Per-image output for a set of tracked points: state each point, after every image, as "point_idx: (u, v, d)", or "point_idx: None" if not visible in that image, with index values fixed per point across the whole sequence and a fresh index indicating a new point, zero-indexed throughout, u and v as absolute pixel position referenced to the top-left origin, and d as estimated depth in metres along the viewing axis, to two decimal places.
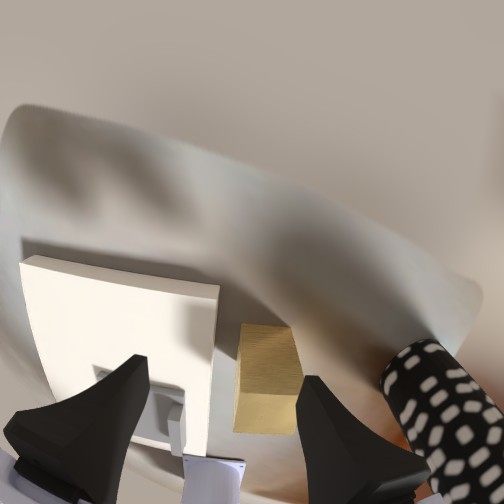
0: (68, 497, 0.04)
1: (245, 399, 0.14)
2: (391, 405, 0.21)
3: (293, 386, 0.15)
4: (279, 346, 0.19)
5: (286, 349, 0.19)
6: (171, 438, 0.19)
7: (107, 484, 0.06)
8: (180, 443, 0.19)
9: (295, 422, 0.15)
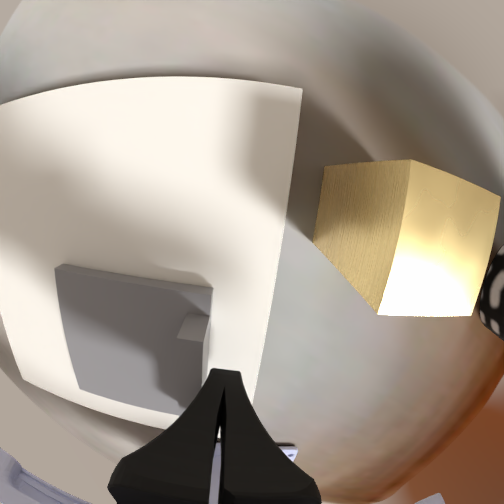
0: None
1: (420, 186, 0.06)
2: None
3: None
4: None
5: None
6: (181, 391, 0.10)
7: None
8: None
9: (481, 275, 0.06)
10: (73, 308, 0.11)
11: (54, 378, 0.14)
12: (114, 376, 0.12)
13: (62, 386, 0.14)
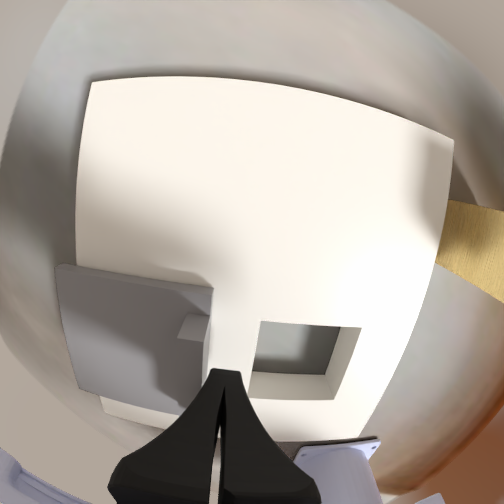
0: None
1: None
2: None
3: None
4: None
5: None
6: (181, 391, 0.10)
7: None
8: None
9: None
10: (73, 307, 0.11)
11: None
12: (114, 376, 0.12)
13: (169, 418, 0.15)
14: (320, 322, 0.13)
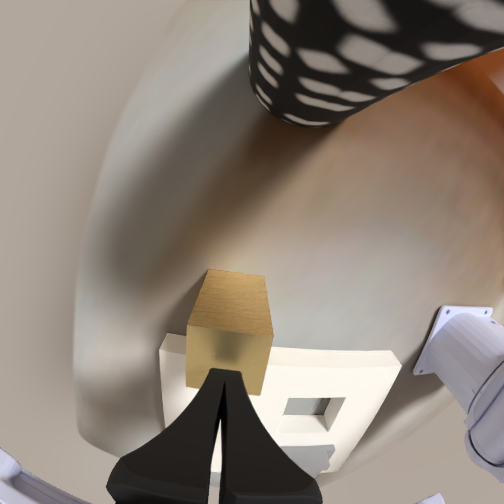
0: None
1: (196, 383, 0.13)
2: (338, 117, 0.14)
3: None
4: None
5: None
6: None
7: None
8: (305, 467, 0.20)
9: (242, 336, 0.12)
10: None
11: (334, 456, 0.23)
12: None
13: (340, 453, 0.23)
14: (281, 414, 0.21)
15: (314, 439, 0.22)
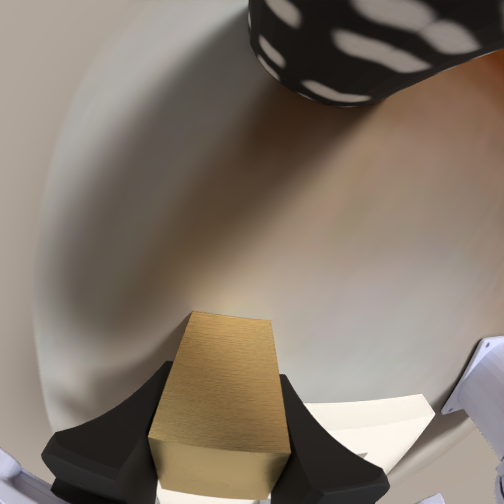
0: None
1: (175, 488, 0.07)
2: (389, 88, 0.08)
3: None
4: None
5: None
6: None
7: (148, 497, 0.06)
8: None
9: (239, 455, 0.06)
10: None
11: None
12: None
13: None
14: None
15: None
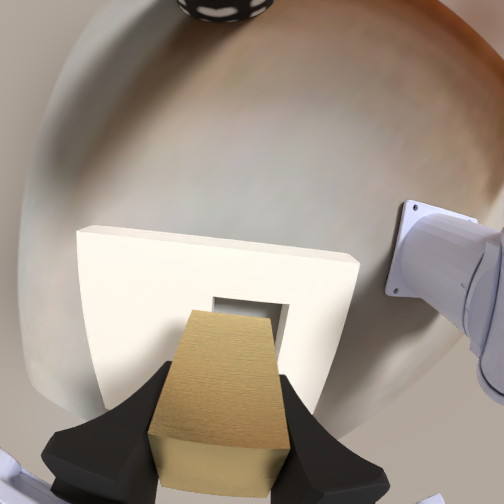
0: None
1: (175, 485, 0.07)
2: None
3: None
4: None
5: None
6: None
7: (148, 496, 0.06)
8: None
9: (238, 451, 0.06)
10: None
11: None
12: None
13: None
14: None
15: None
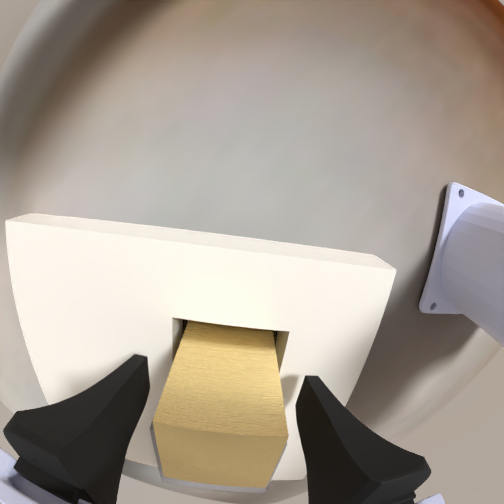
0: (68, 497, 0.04)
1: (177, 475, 0.07)
2: None
3: None
4: None
5: None
6: None
7: (107, 484, 0.06)
8: None
9: (239, 438, 0.07)
10: (186, 481, 0.15)
11: (292, 455, 0.15)
12: None
13: (302, 450, 0.15)
14: (169, 357, 0.12)
15: None
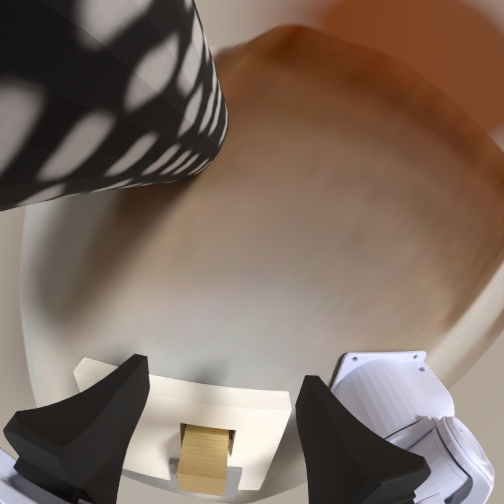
0: (68, 497, 0.04)
1: (185, 489, 0.17)
2: (169, 180, 0.15)
3: None
4: None
5: None
6: None
7: (107, 484, 0.06)
8: None
9: (208, 478, 0.16)
10: None
11: (248, 477, 0.24)
12: None
13: (254, 475, 0.24)
14: (179, 435, 0.22)
15: None
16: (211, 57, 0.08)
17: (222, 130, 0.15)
